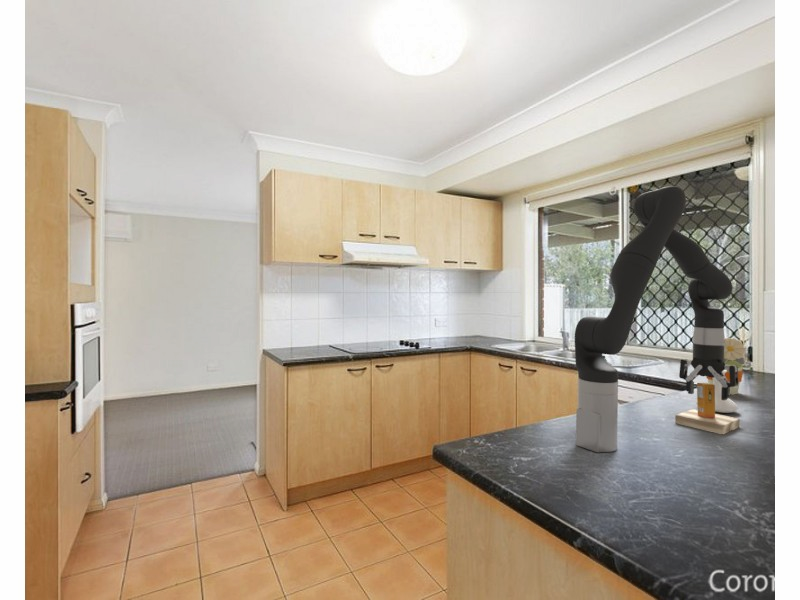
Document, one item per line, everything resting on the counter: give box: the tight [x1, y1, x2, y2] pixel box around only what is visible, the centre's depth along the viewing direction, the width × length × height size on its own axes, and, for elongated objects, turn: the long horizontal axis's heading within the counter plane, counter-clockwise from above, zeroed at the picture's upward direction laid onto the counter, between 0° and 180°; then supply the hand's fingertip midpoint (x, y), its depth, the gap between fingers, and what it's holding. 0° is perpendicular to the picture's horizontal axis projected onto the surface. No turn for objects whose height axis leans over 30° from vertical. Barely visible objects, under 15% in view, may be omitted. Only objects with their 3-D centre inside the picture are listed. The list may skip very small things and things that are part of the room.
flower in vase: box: [695, 337, 747, 414], centre depth 138 cm, size 13×11×25 cm
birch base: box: [674, 408, 741, 435], centre depth 123 cm, size 12×12×2 cm
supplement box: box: [696, 382, 716, 418], centre depth 123 cm, size 3×3×10 cm
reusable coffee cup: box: [705, 356, 745, 396], centre depth 165 cm, size 13×13×15 cm
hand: (707, 396), depth 123 cm, fingers open, 8 cm apart
